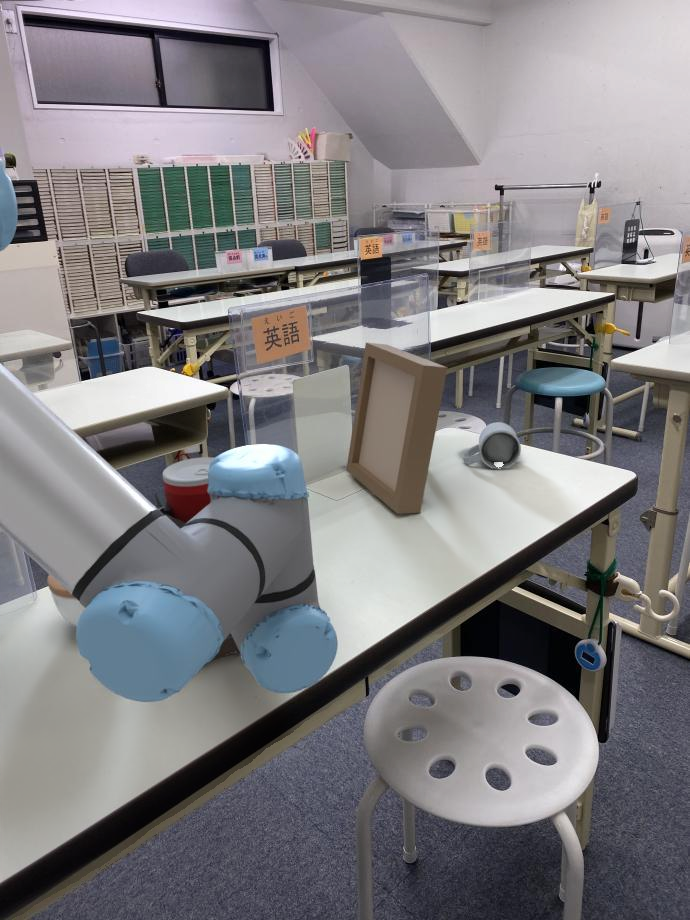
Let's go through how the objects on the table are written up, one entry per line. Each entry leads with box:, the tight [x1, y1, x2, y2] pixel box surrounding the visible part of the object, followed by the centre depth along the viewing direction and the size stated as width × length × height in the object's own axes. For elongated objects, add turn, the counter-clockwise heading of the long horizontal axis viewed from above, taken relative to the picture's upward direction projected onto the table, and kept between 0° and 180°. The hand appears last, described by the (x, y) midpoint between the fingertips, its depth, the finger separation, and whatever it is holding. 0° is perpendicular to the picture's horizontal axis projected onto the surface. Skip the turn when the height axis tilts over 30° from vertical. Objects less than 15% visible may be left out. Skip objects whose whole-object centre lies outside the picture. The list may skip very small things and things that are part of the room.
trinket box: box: [46, 573, 85, 628], centre depth 90 cm, size 11×11×9 cm
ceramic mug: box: [462, 421, 522, 469], centre depth 131 cm, size 11×8×8 cm
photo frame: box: [345, 342, 448, 514], centre depth 120 cm, size 15×22×25 cm
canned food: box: [162, 456, 216, 523], centre depth 83 cm, size 8×8×11 cm
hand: (193, 493), depth 87 cm, fingers closed on canned food, 8 cm apart
